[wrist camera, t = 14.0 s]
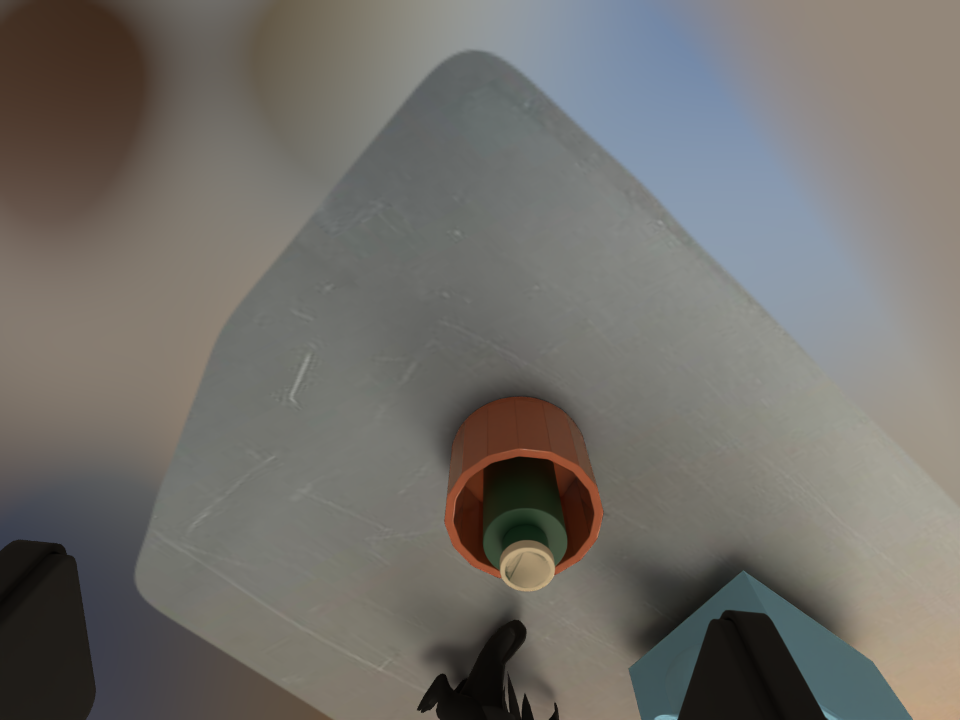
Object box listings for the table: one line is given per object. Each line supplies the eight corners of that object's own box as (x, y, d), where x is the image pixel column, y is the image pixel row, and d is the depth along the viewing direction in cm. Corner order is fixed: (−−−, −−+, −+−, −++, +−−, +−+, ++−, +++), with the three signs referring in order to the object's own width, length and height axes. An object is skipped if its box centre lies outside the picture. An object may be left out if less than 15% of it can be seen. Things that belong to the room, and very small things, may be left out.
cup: (458, 389, 39) (453, 441, 33) (596, 404, 39) (616, 458, 33) (445, 505, 42) (438, 572, 36) (572, 518, 42) (587, 587, 36)
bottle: (487, 428, 39) (488, 528, 30) (557, 435, 39) (579, 537, 30) (479, 488, 41) (477, 600, 32) (547, 495, 41) (564, 609, 32)
